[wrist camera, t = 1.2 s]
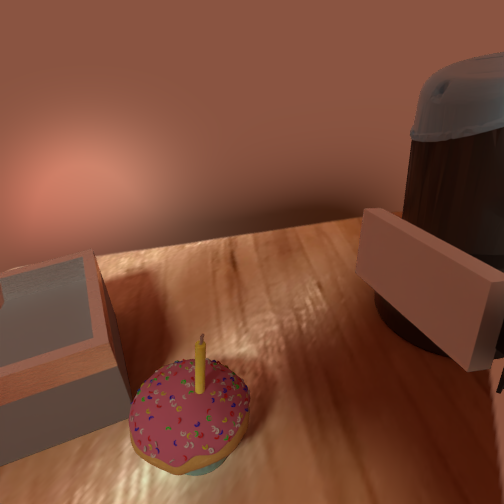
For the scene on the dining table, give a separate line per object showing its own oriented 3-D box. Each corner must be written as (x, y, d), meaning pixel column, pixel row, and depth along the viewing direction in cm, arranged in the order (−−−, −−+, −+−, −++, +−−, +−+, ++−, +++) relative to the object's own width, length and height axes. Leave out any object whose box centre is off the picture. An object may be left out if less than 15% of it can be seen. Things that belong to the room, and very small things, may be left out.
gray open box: (114, 313, 47) (99, 269, 43) (135, 415, 36) (117, 365, 32) (-27, 357, 43) (-56, 312, 39) (-53, 486, 32) (-96, 438, 28)
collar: (99, 269, 43) (92, 248, 42) (117, 365, 32) (108, 342, 31) (-56, 312, 39) (-69, 291, 38) (-96, 438, 28) (-117, 415, 27)
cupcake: (259, 402, 36) (246, 289, 29) (248, 509, 29) (228, 393, 22) (160, 398, 37) (126, 289, 30) (126, 501, 30) (72, 388, 23)
